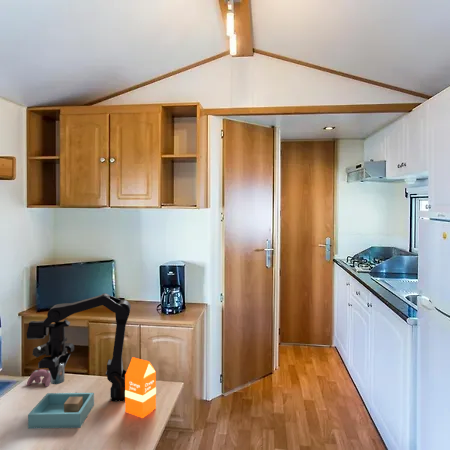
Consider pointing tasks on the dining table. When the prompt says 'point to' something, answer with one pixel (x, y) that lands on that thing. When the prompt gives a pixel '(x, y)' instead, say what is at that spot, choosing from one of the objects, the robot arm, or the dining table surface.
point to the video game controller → (37, 375)
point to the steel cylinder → (59, 375)
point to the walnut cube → (73, 404)
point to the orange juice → (140, 388)
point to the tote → (59, 411)
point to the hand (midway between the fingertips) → (57, 376)
